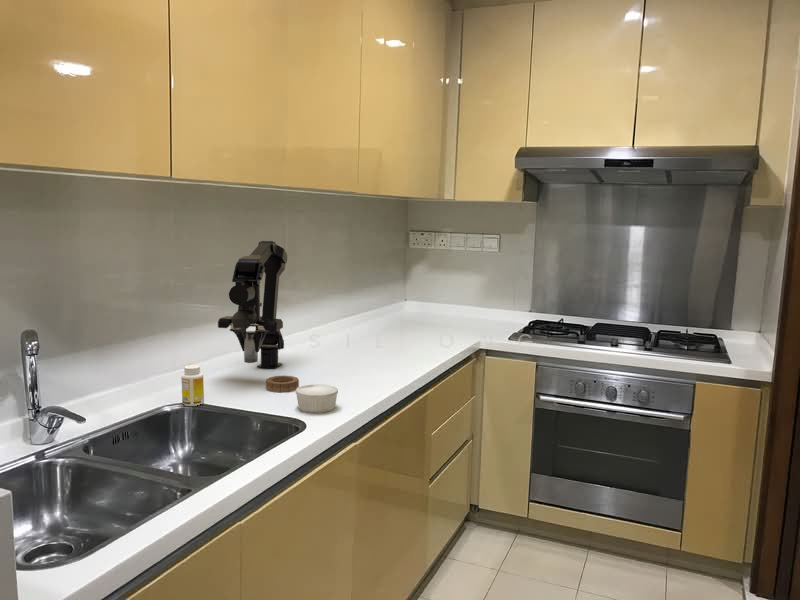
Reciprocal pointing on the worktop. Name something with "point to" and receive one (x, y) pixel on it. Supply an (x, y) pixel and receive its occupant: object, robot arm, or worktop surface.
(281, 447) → the worktop surface
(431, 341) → the worktop surface
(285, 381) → the brown segmented ring
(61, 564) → the worktop surface
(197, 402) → the supplement bottle
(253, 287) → the robot arm
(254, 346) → the grey metal peg
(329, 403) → the ramekin
